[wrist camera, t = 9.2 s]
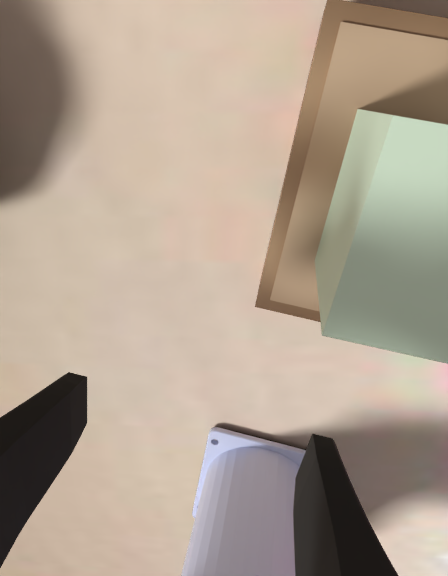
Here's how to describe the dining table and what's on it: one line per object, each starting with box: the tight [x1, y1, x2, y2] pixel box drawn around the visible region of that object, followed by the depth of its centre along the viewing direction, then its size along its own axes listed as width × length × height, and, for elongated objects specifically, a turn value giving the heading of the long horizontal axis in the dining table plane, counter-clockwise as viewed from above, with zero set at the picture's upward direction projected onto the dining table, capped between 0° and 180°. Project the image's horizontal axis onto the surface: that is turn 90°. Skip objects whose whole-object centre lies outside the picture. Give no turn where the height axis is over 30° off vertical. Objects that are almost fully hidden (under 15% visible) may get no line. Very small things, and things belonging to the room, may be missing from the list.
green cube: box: [315, 109, 448, 364], centre depth 13 cm, size 6×6×6 cm
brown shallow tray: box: [255, 0, 448, 322], centre depth 17 cm, size 12×10×3 cm
